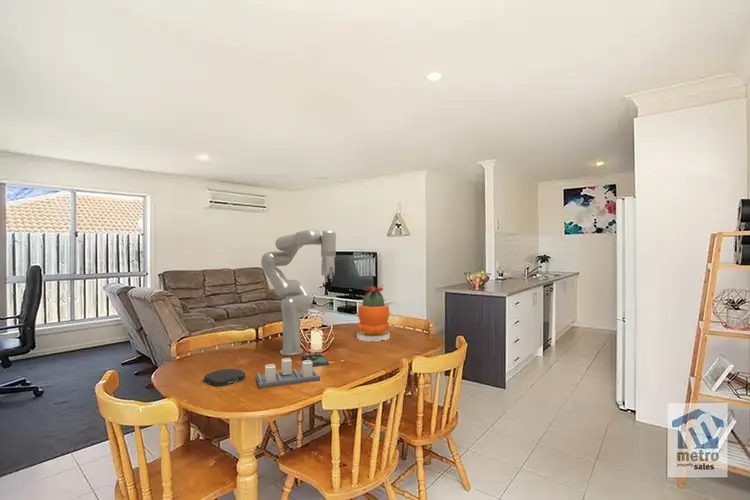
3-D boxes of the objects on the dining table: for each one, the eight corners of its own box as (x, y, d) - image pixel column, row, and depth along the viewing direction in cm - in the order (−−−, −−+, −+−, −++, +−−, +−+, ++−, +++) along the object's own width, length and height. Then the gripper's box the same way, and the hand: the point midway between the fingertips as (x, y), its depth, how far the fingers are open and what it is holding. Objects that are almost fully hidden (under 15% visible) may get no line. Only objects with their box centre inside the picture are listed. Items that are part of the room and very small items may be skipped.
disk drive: (301, 360, 197) (309, 368, 184) (300, 355, 197) (309, 362, 184) (319, 358, 202) (329, 365, 189) (319, 353, 202) (329, 360, 189)
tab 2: (281, 372, 172) (281, 357, 172) (290, 371, 174) (290, 356, 174) (282, 375, 169) (282, 360, 168) (291, 374, 170) (291, 359, 170)
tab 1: (265, 379, 163) (265, 363, 163) (274, 378, 165) (274, 362, 165) (266, 382, 159) (266, 366, 159) (275, 381, 161) (275, 365, 161)
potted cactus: (355, 335, 252) (356, 283, 252) (388, 334, 254) (388, 283, 254) (357, 343, 230) (358, 286, 230) (393, 342, 233) (394, 286, 233)
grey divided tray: (256, 377, 169) (256, 373, 169) (312, 370, 179) (312, 366, 179) (259, 388, 156) (259, 383, 156) (320, 380, 166) (320, 375, 166)
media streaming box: (231, 372, 177) (231, 366, 177) (248, 379, 168) (248, 372, 168) (200, 380, 166) (200, 374, 166) (217, 388, 157) (217, 381, 157)
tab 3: (301, 374, 169) (301, 359, 169) (310, 373, 171) (310, 358, 171) (303, 377, 166) (303, 362, 165) (312, 376, 167) (312, 361, 167)
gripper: (317, 254, 201) (317, 288, 201) (325, 254, 187) (325, 291, 187) (331, 254, 204) (331, 287, 204) (339, 254, 190) (339, 290, 190)
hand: (328, 289), depth 195 cm, fingers closed
